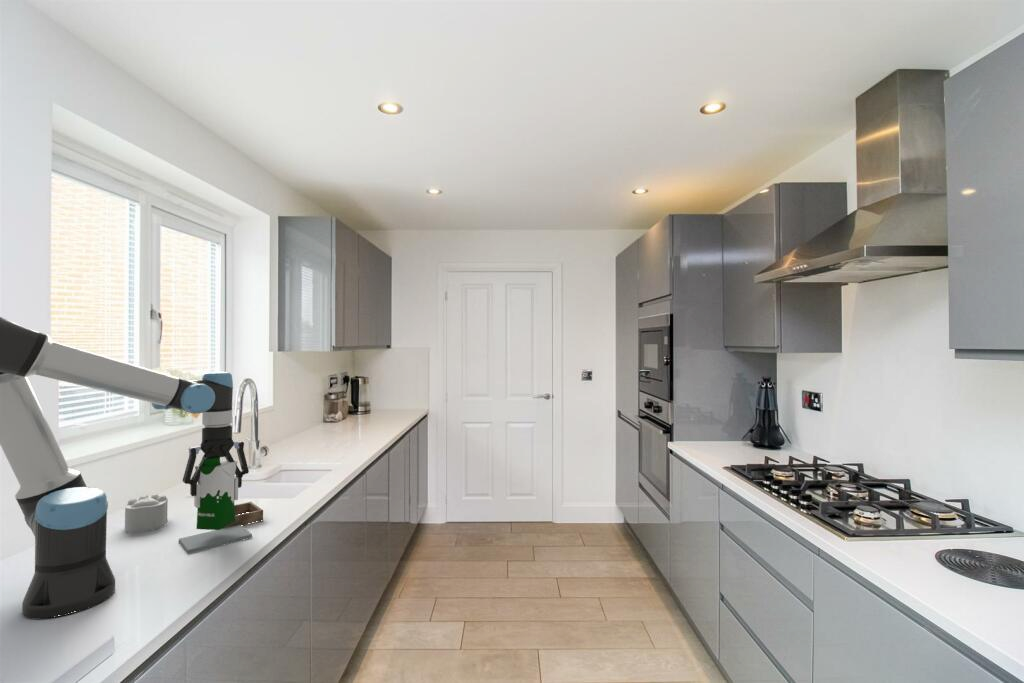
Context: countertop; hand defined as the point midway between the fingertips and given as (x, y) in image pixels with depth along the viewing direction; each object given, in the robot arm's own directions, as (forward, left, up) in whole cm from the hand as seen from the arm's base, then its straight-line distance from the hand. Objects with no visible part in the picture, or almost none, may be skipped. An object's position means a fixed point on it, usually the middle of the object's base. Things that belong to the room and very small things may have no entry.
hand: (216, 502), depth 141 cm
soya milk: (0, 0, -7) cm, 7 cm away
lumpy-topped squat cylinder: (-12, +29, -11) cm, 34 cm away
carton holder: (+9, +13, -11) cm, 19 cm away
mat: (0, 0, -11) cm, 11 cm away
